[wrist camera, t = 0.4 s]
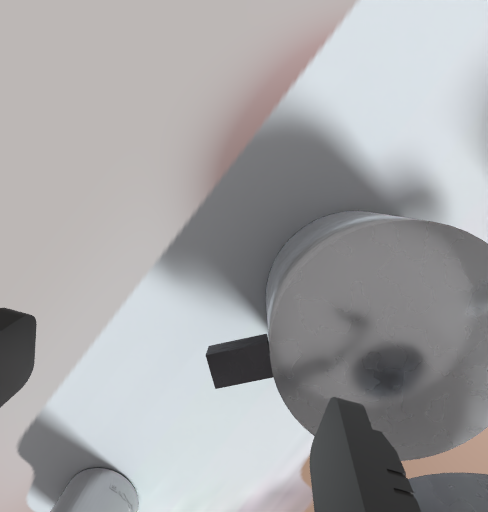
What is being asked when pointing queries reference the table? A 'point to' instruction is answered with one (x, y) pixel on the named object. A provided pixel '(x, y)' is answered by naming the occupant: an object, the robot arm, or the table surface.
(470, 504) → the lid
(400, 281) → the pot
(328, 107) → the table surface
